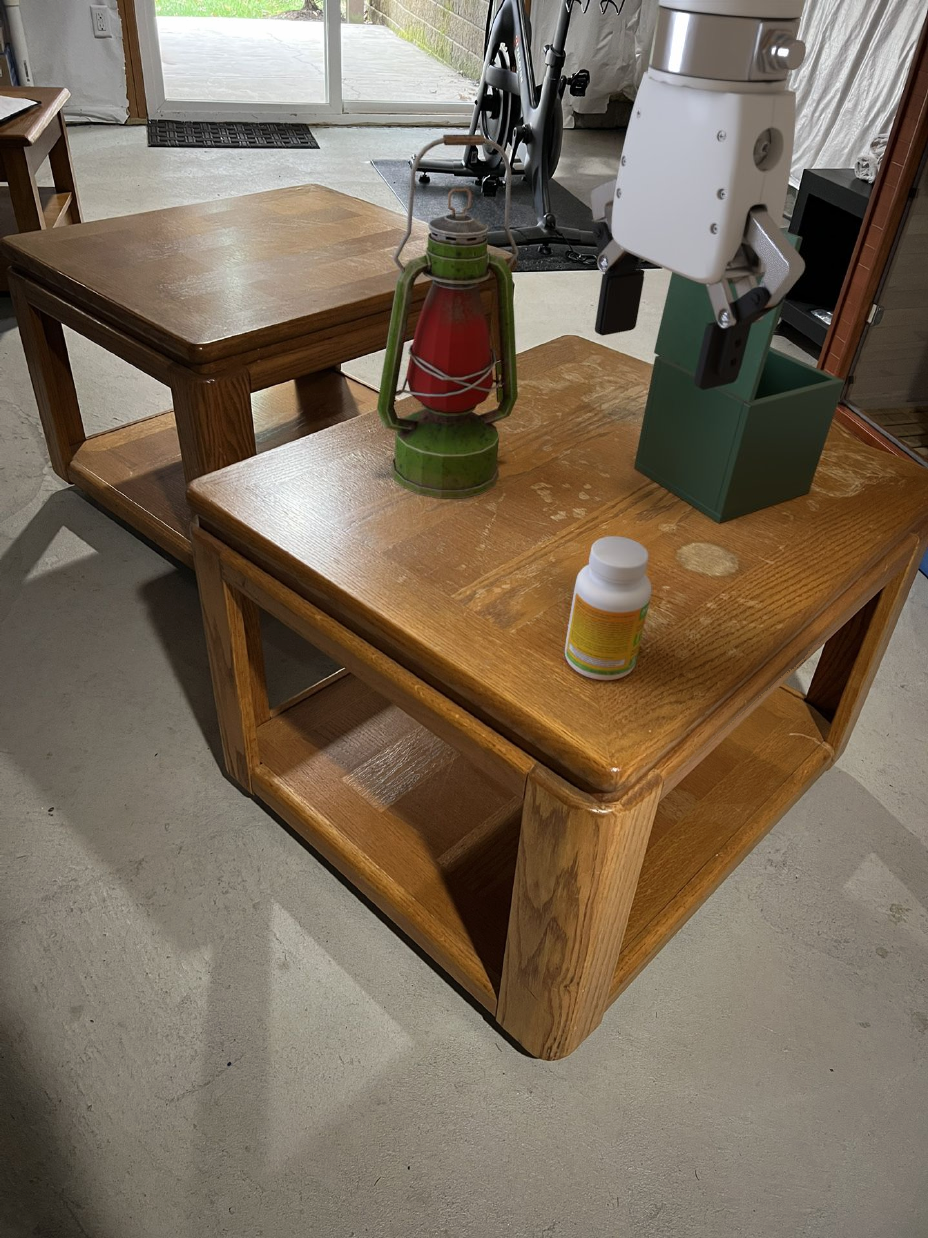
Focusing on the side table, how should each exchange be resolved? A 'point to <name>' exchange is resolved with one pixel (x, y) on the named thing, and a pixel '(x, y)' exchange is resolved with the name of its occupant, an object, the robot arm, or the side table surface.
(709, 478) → the bin
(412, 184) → the lantern
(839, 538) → the side table surface
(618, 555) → the supplement bottle
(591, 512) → the side table surface
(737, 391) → the bin lid
